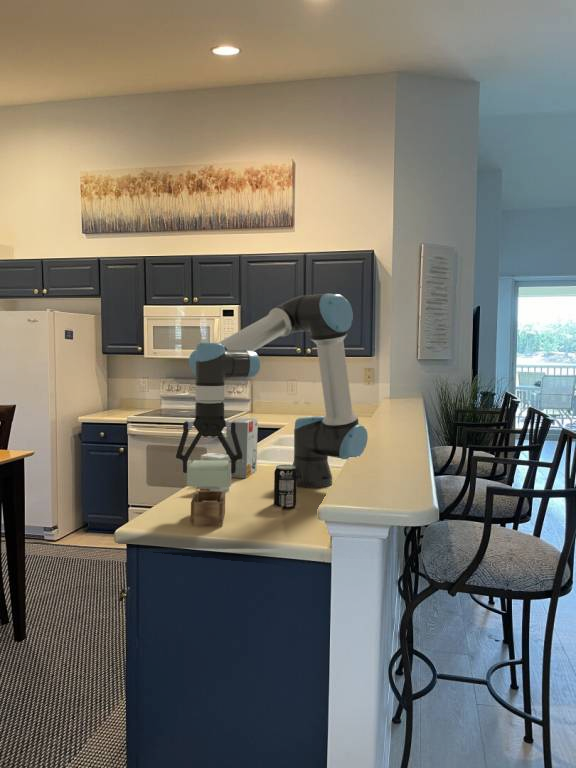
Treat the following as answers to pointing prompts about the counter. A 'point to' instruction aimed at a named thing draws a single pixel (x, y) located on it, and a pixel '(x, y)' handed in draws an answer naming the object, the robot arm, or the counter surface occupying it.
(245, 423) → the hard drive box
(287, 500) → the beverage can
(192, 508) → the crate
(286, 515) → the counter surface
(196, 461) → the lid
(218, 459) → the ink box
